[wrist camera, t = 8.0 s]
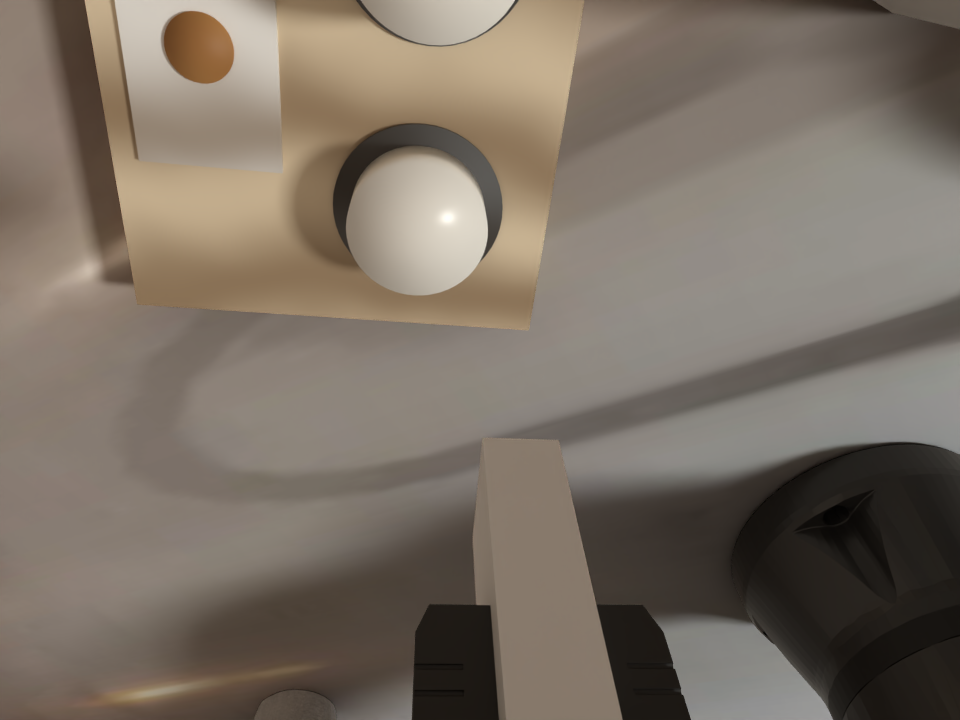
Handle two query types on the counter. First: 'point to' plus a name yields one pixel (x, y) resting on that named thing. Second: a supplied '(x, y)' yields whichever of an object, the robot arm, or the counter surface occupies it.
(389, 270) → the button
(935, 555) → the robot arm
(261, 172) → the button board
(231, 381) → the counter surface
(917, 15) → the can
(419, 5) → the button
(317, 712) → the house plant
